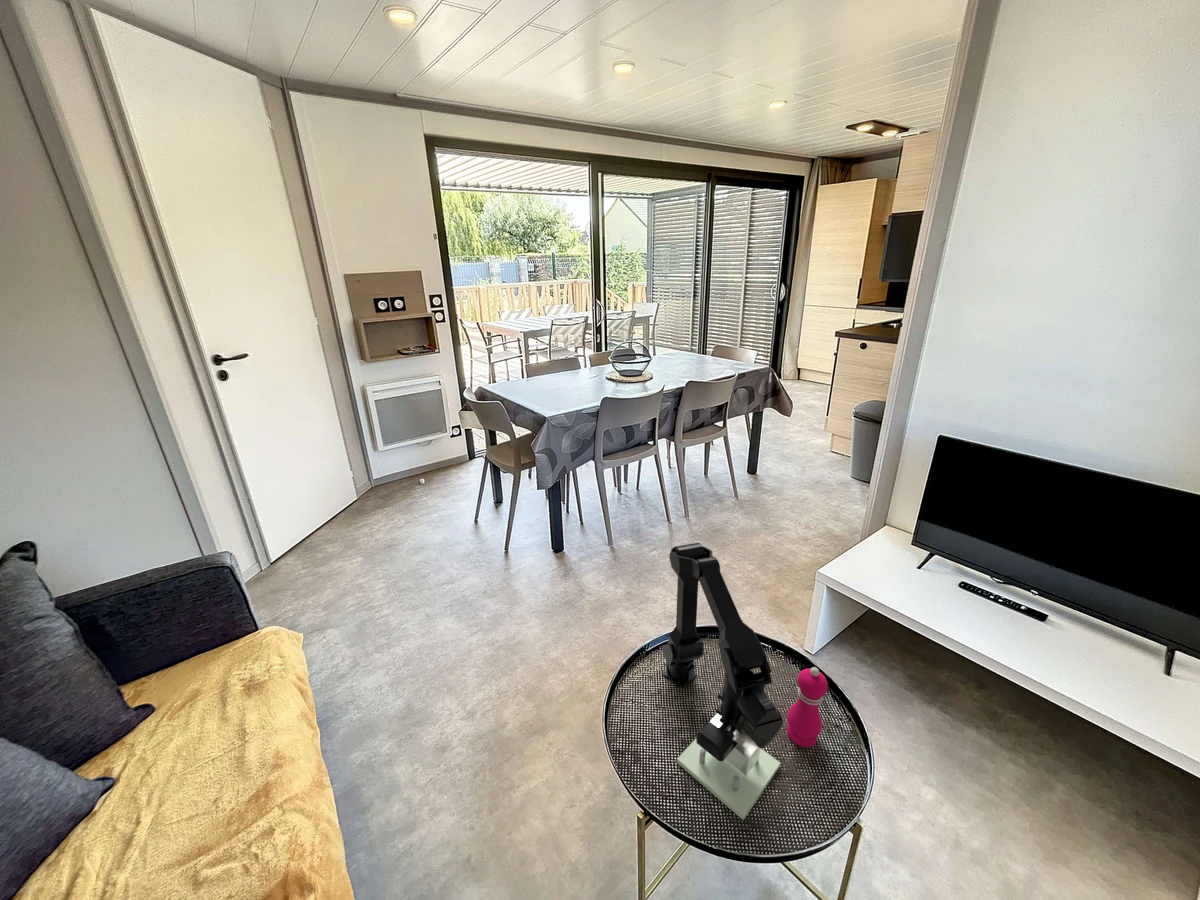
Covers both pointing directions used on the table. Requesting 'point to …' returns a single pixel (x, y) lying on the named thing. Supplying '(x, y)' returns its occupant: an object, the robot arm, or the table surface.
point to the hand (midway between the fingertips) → (730, 746)
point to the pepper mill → (807, 708)
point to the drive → (741, 750)
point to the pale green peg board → (729, 777)
